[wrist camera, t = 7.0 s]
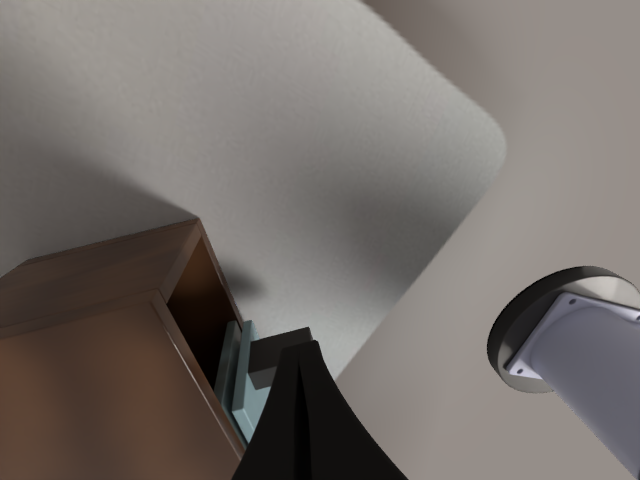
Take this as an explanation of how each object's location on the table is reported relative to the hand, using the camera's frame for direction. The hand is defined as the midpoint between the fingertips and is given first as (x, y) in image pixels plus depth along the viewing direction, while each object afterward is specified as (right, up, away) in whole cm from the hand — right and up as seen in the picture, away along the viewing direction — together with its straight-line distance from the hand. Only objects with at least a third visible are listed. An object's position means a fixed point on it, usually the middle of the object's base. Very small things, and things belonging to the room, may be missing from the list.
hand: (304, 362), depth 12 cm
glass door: (-2, -3, +10) cm, 11 cm away
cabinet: (-10, -1, +9) cm, 13 cm away
